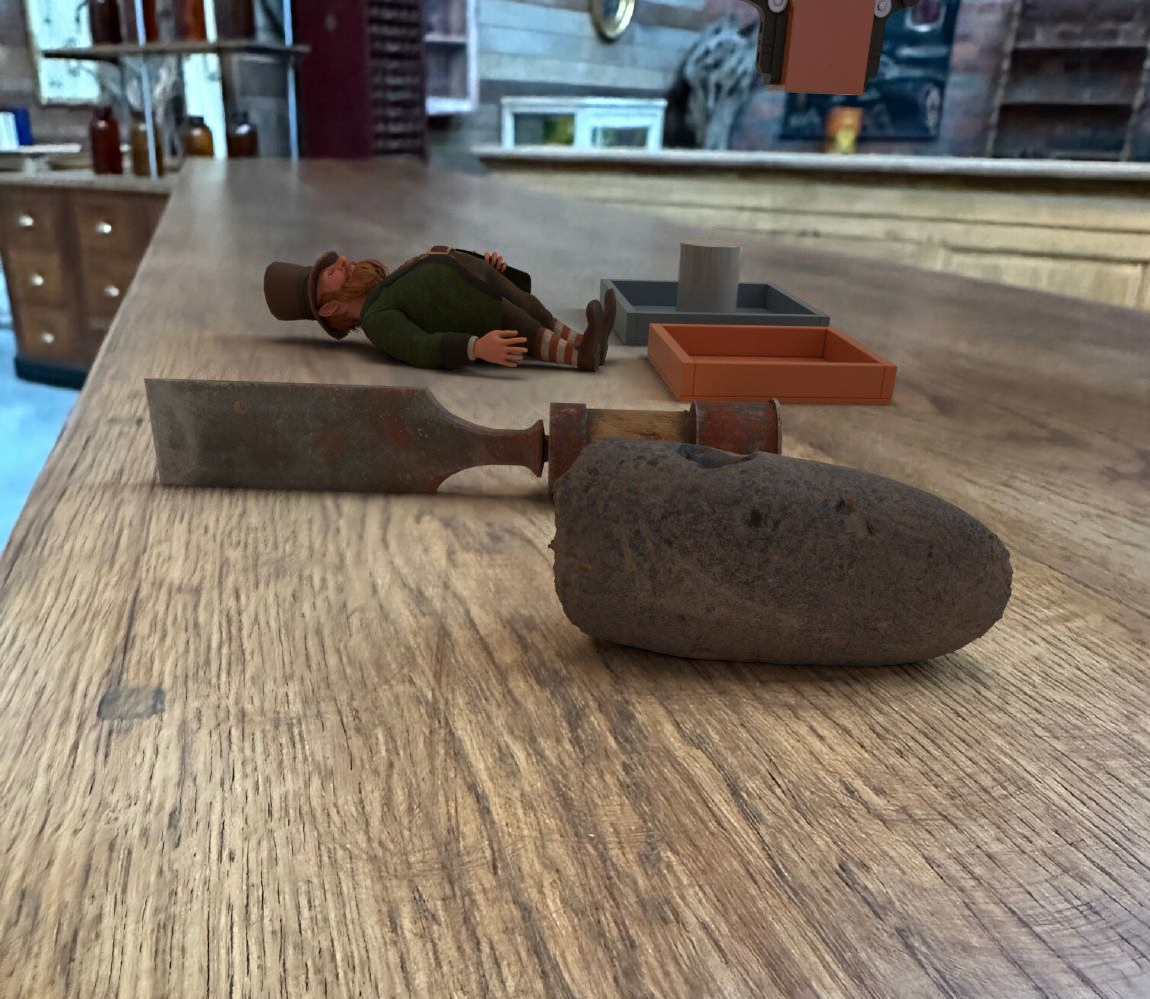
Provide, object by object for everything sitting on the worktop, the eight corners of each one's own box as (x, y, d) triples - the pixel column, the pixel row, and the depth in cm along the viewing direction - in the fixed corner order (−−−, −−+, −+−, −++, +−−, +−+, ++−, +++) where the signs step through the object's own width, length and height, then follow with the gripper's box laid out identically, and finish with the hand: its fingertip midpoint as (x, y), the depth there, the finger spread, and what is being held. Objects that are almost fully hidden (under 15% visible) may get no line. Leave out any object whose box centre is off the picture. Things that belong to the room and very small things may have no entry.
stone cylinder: (727, 317, 96) (735, 240, 93) (740, 328, 92) (749, 247, 88) (669, 316, 95) (675, 238, 92) (679, 327, 91) (686, 245, 88)
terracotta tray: (829, 364, 83) (834, 326, 82) (890, 408, 72) (898, 365, 70) (646, 361, 82) (649, 323, 80) (679, 406, 70) (682, 362, 69)
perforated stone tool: (980, 645, 40) (1027, 450, 37) (1005, 712, 36) (1061, 498, 32) (566, 606, 42) (572, 416, 38) (541, 666, 38) (545, 458, 34)
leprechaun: (581, 352, 71) (213, 279, 74) (580, 460, 79) (250, 390, 82) (624, 241, 76) (277, 177, 79) (619, 354, 84) (305, 292, 87)
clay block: (840, 94, 75) (852, 4, 73) (862, 95, 71) (876, -1, 68) (766, 91, 75) (776, 0, 72) (784, 91, 70) (795, -6, 68)
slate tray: (770, 313, 102) (774, 282, 101) (825, 352, 87) (830, 316, 86) (599, 310, 100) (600, 278, 99) (625, 349, 85) (627, 312, 84)
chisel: (141, 507, 50) (122, 391, 48) (175, 474, 55) (158, 367, 52) (772, 526, 51) (787, 413, 48) (756, 492, 55) (769, 387, 53)
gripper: (747, -291, 60) (715, 82, 69) (1006, -273, 61) (943, 91, 70) (720, -255, 67) (694, 82, 75) (955, -238, 68) (903, 91, 76)
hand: (814, 85), depth 73 cm, fingers closed on clay block, 5 cm apart
